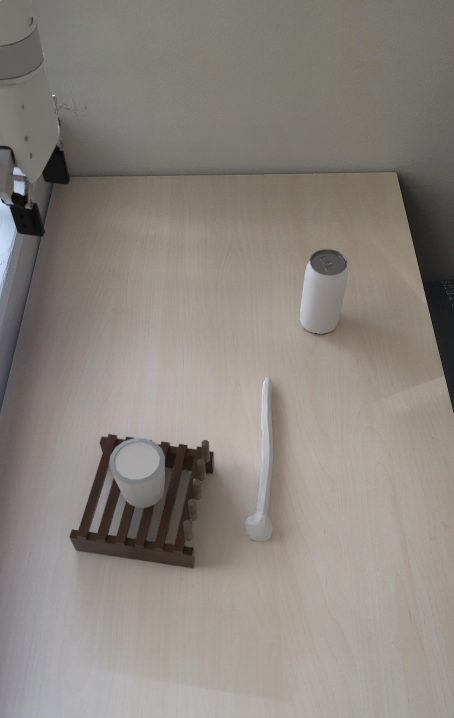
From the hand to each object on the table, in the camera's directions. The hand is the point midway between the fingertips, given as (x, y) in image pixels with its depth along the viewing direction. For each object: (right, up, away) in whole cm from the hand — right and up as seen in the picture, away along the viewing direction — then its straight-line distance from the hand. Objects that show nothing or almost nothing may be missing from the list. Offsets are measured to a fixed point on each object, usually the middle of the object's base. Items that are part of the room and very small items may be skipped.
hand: (45, 207), depth 77 cm
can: (+37, -5, +29) cm, 47 cm away
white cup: (+11, -34, +8) cm, 36 cm away
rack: (+11, -36, +12) cm, 40 cm away
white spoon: (+27, -29, +16) cm, 42 cm away
